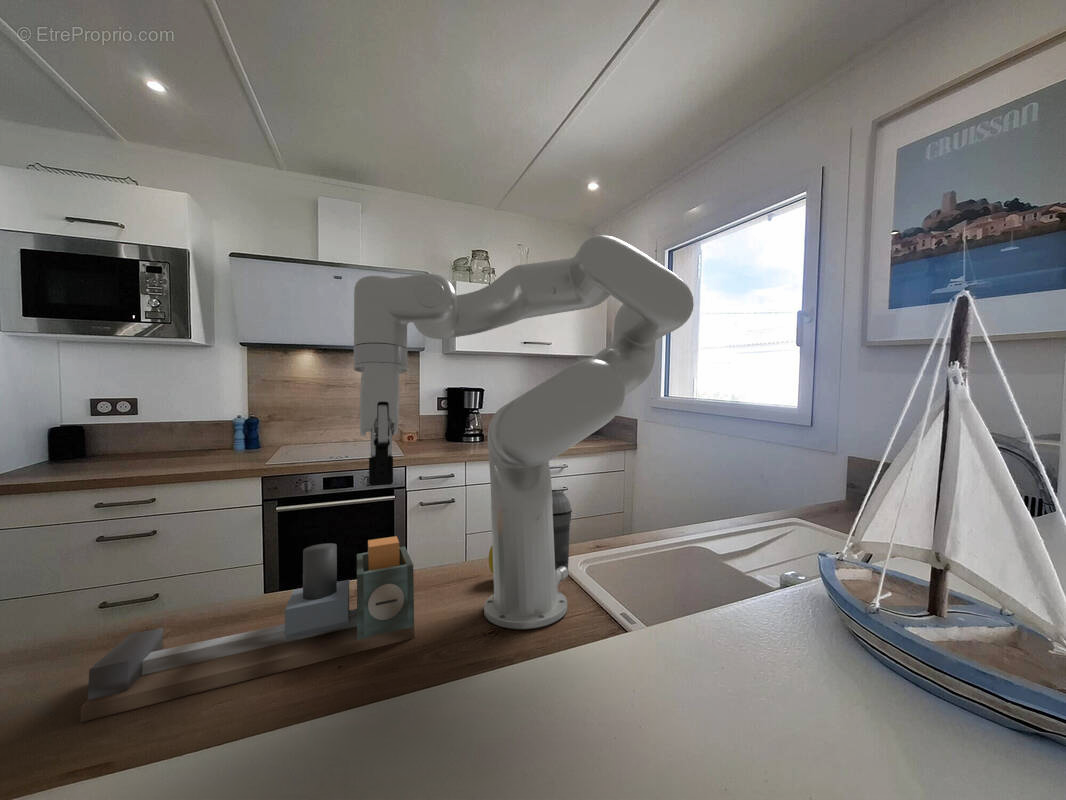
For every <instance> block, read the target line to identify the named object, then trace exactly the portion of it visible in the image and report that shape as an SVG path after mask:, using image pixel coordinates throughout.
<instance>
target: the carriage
mask: <svg viewBox="0 0 1066 800" xmlns="http://www.w3.org/2000/svg"><path fill="white" fill-rule="evenodd" d="M337 546H338V545H337V544H336V543H331V542H330V543H329V542H328V543H319V544H314V545H310V546H307V547H305V548H304V549H303V550H302V556H303V557H302V587H301V588H296V589H293V590H292V592H291V595H290V597H289V600H288V602H287V604H286V606H285V608H284V624H285V635H286V640H289V639H293V638H297V637H302V636H306V635H311V634H315V633H320V632H324V631H329V630H333V629H337V628H342V627H346V626H349V610H350V579H345V580H341V581H337V580H338V576H337V575H338V574H337V573H338V569H337V568H338V567H337V566H338V565H337V564H338V562H337V561H338V558H337V557H338V555H337V554H338V553H337V552H338V551H337V550H338V549H337V548H338V547H337Z"/></svg>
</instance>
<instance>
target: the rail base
mask: <svg viewBox="0 0 1066 800" xmlns="http://www.w3.org/2000/svg"><path fill="white" fill-rule="evenodd" d="M399 556H400V566H394V567H388V568H382V569H377V570H371V571H368V551H367V552H362V553H357V554H356V608H355V609H354V608H353V609H349V626H346V627H342V628H337V629H333V630H329V631H324V632H320V633H315V634H311V635H306V636H302V637H297V638H293V639H289V640H286V635H285V623H282V624H278V625H273V626H268V627H263V628H258V629H254V630H249V631H244V632H240V633H239V632H238V633H235V634H230V635H226V636H221V637H215V638H211V639H205V640H201V641H195V642H191V643H187V644H186V643H185V644H183V645H182V644H181V645H179V646H173V647H167V648H163V647H164V646H163V643H164V642H163V641H164V627H158V628H155V629H154V628H153V629H148V630H143V631H138V632H133V633H130V634H129V635H127V636H126V637H125V638H124V639H123V640H122V641H121V642H119V643H118V644H117V645H116V646H115V647H113V648H112V649H111V650H109V652H107V654H105V655H104V656H103V657H102V658H100V660H98V661H97V662H96V663H95V664H94V665H92V666H91V667H90V668H89V669H88V686H87V687H88V688H87V690H88V691H87V700H86V701H85V702H84V703H83V704H82V705H81V706H80V723H84V722H88V721H91V720H95V719H100V718H103V717H107V716H111V715H115V714H120V713H124V712H127V711H131V710H135V709H139V708H143V707H148V706H150V705H154V704H159V703H162V702H166V701H172V700H174V699H179V698H184V697H186V696H190V695H194V694H195V695H196V694H198V693H202V692H205V691H210V690H214V689H218V688H219V689H220V688H221V687H225V686H226V687H227V686H229V685H234V684H237V683H238V684H239V683H241V682H245V681H249V680H253V679H254V680H255V679H257V678H258V679H259V678H261V677H266V676H268V675H273V674H277V673H281V672H285V671H289V670H294V669H297V668H301V667H305V666H309V665H313V664H317V663H321V662H325V661H328V660H333V659H337V658H340V657H341V658H342V657H344V656H345V657H346V656H348V655H353V654H357V653H361V652H364V651H369V650H372V649H376V648H381V647H384V646H389V645H391V644H396V643H400V642H404V641H408V640H412V639H415V589H414V587H415V586H414V585H415V584H414V581H415V580H414V579H415V578H414V563H413V561H412V559H411V556H410V554H409V553H408V550H407V548H406V546H401V547H400V546H399Z"/></svg>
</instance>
